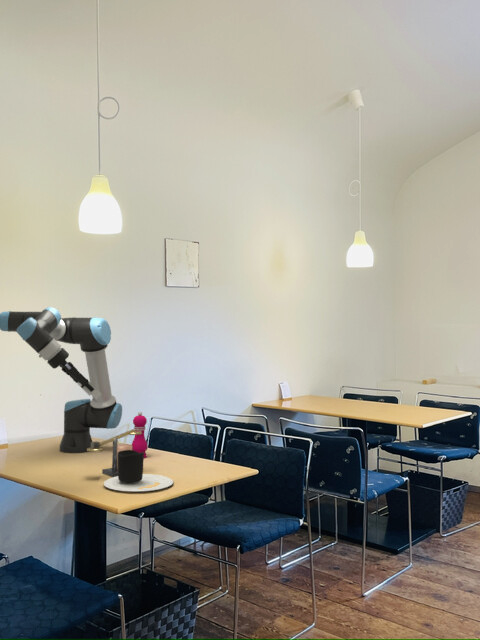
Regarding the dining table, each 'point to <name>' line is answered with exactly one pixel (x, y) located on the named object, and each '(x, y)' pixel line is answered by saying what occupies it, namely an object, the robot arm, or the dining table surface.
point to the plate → (139, 483)
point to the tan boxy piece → (123, 447)
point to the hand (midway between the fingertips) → (95, 395)
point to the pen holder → (130, 466)
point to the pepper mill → (139, 440)
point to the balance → (96, 447)
